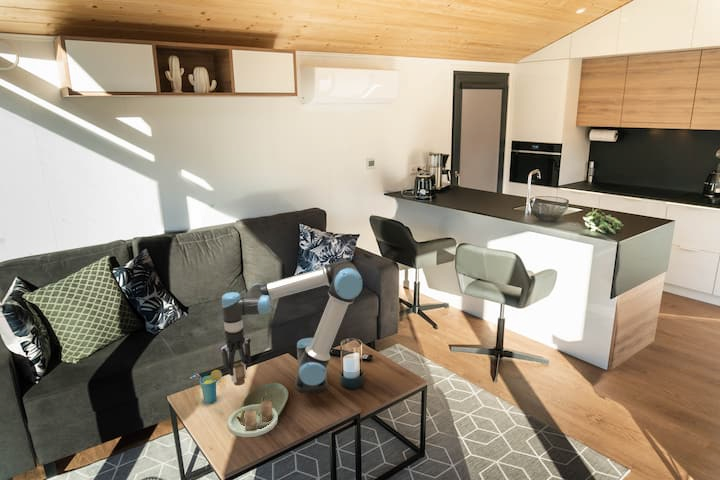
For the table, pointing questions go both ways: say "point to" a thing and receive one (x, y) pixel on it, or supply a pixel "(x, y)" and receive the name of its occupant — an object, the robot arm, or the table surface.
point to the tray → (240, 429)
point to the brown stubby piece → (239, 374)
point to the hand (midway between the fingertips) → (239, 379)
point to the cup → (209, 385)
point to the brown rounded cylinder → (266, 411)
